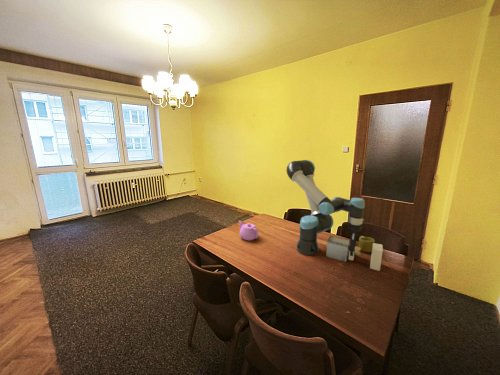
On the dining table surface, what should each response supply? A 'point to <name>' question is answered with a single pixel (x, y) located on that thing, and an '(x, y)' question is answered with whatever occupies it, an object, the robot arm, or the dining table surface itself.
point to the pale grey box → (337, 248)
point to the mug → (366, 243)
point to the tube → (355, 250)
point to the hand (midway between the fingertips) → (351, 257)
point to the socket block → (376, 256)
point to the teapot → (248, 231)
